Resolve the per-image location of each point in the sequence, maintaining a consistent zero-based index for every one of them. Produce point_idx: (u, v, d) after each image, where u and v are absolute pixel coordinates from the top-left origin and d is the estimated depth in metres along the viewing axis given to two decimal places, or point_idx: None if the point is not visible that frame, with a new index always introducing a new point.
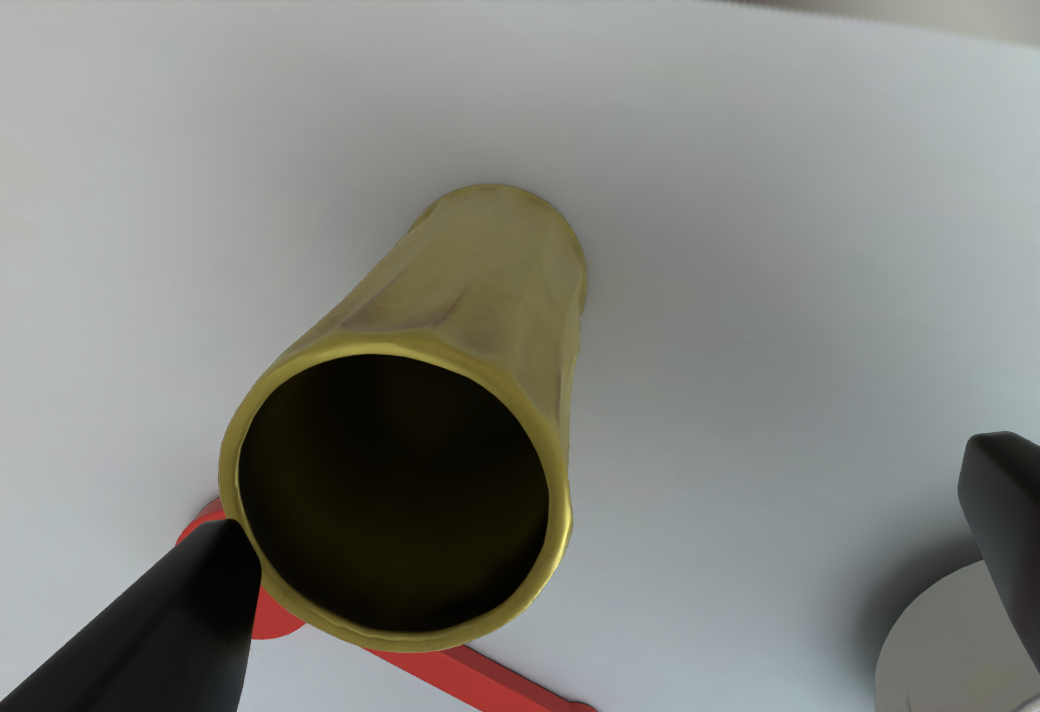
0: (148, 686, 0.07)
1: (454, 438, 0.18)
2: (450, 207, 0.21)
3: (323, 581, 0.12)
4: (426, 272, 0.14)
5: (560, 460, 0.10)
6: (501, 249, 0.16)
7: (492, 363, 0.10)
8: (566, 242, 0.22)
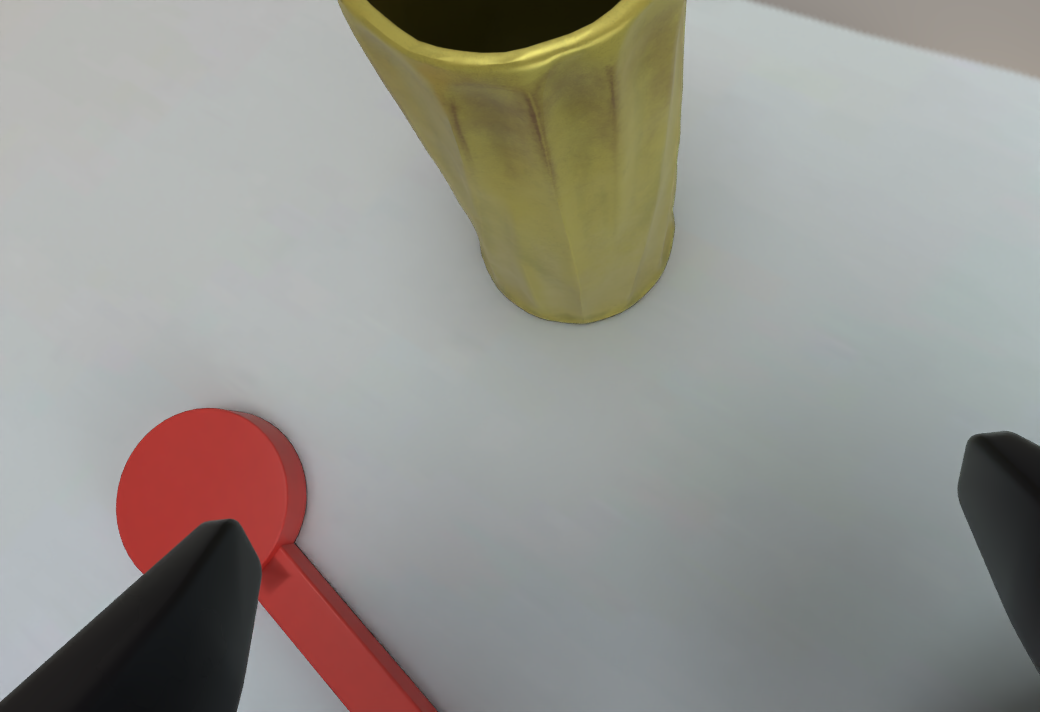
0: (148, 686, 0.07)
1: None
2: None
3: None
4: None
5: None
6: None
7: None
8: None
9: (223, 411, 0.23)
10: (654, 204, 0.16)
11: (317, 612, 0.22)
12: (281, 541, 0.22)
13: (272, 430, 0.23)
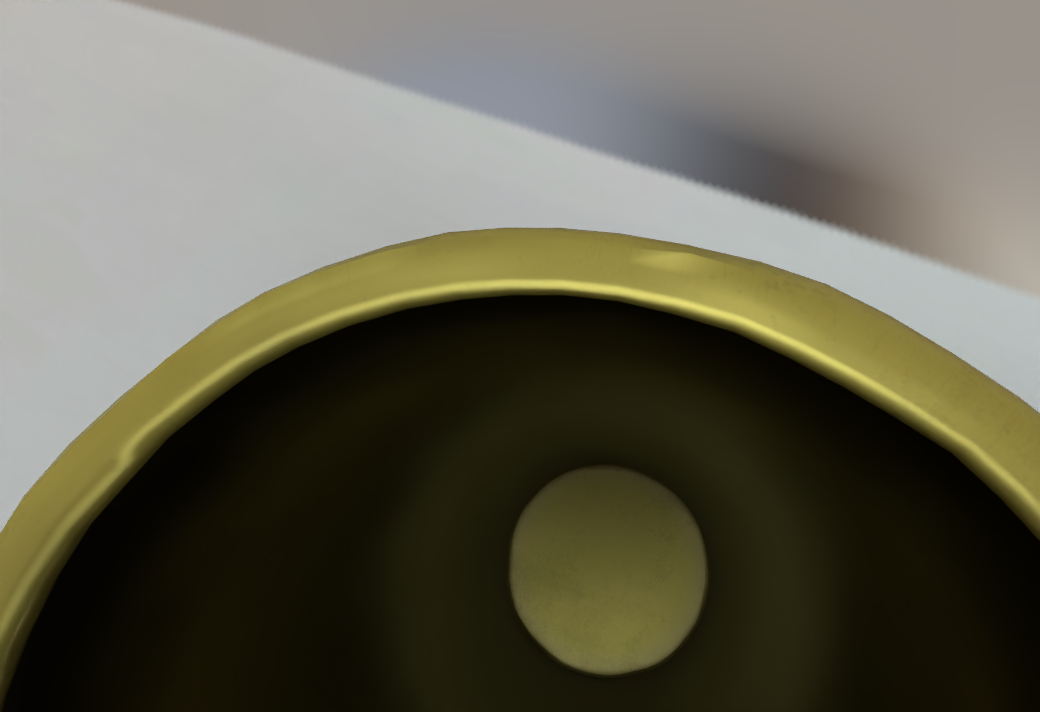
0: None
1: None
2: None
3: None
4: None
5: None
6: None
7: None
8: None
9: None
10: None
11: None
12: None
13: None
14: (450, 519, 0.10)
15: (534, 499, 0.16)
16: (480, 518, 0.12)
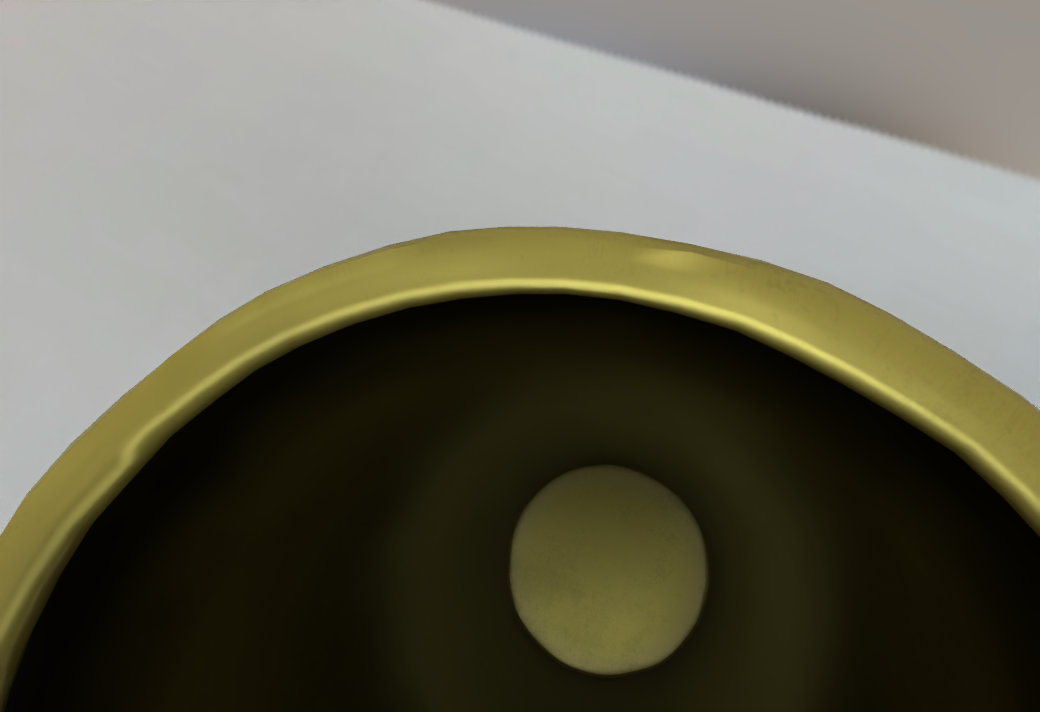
0: None
1: None
2: None
3: None
4: None
5: None
6: None
7: None
8: None
9: None
10: None
11: None
12: None
13: None
14: (451, 519, 0.10)
15: (534, 499, 0.16)
16: (480, 518, 0.12)
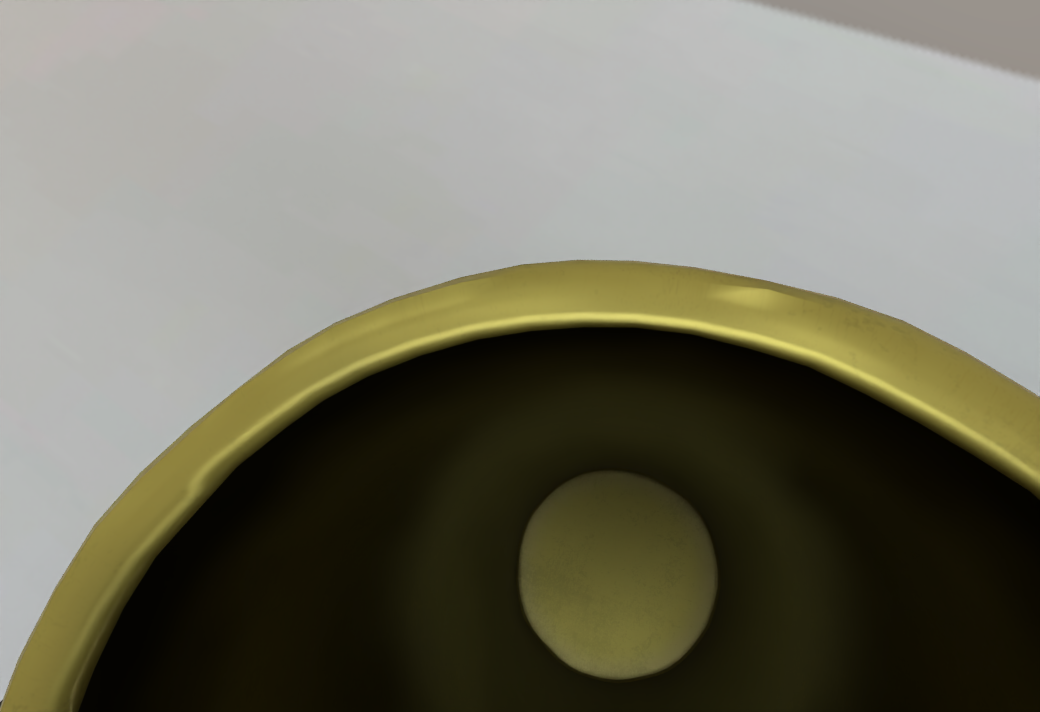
0: None
1: None
2: None
3: None
4: None
5: None
6: None
7: None
8: None
9: None
10: None
11: None
12: None
13: None
14: (469, 527, 0.10)
15: (544, 503, 0.16)
16: (494, 524, 0.12)
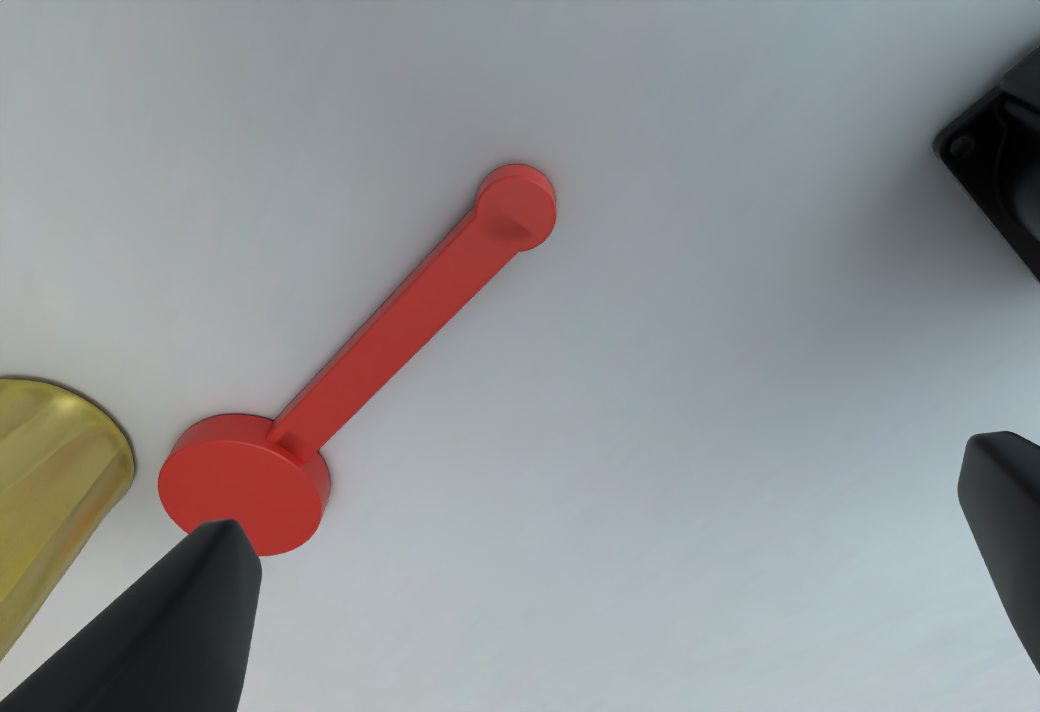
0: (148, 686, 0.07)
1: None
2: None
3: None
4: None
5: None
6: None
7: None
8: None
9: (159, 491, 0.25)
10: None
11: (313, 407, 0.24)
12: (259, 439, 0.24)
13: (173, 448, 0.25)
14: None
15: None
16: None
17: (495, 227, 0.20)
